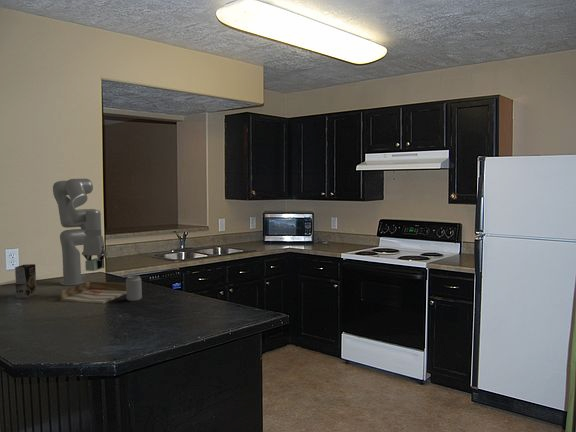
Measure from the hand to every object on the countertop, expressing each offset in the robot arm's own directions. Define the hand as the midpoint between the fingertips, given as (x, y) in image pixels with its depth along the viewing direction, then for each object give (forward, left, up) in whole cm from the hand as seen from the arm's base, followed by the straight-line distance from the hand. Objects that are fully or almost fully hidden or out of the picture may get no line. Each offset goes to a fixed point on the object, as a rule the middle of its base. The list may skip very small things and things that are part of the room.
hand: (95, 267), depth 268 cm
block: (0, 0, -1) cm, 1 cm away
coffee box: (+11, -34, -15) cm, 38 cm away
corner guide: (+5, +3, -14) cm, 16 cm away
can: (+7, +26, -15) cm, 31 cm away
